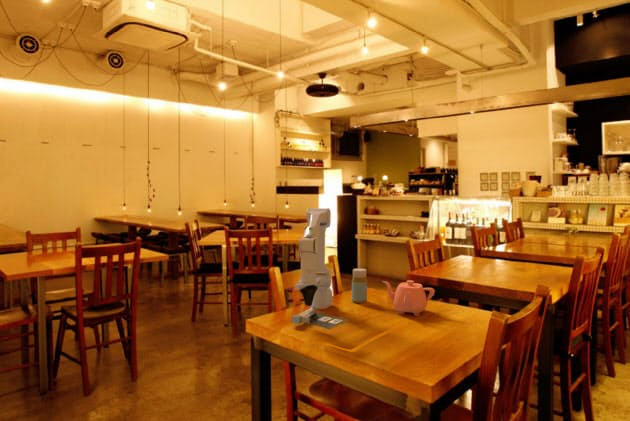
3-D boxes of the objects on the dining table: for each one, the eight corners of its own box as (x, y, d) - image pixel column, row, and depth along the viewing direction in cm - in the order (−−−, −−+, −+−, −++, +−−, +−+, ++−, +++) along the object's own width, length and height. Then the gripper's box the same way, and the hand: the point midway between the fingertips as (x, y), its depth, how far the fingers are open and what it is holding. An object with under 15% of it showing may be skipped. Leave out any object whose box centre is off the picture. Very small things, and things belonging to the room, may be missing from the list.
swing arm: (311, 313, 177) (311, 305, 176) (318, 314, 175) (318, 306, 175) (291, 325, 162) (291, 316, 162) (299, 326, 161) (299, 317, 161)
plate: (317, 314, 181) (317, 311, 181) (350, 321, 171) (350, 318, 171) (296, 322, 170) (296, 319, 170) (329, 331, 160) (329, 328, 160)
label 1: (325, 317, 174) (325, 316, 174) (332, 318, 172) (332, 318, 172) (317, 320, 170) (317, 319, 170) (324, 322, 168) (324, 321, 168)
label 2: (335, 319, 171) (335, 318, 171) (342, 321, 169) (342, 320, 169) (328, 322, 167) (328, 321, 167) (335, 324, 165) (335, 323, 165)
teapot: (407, 320, 173) (407, 286, 172) (381, 309, 188) (381, 278, 187) (437, 314, 181) (437, 282, 180) (410, 305, 196) (410, 275, 195)
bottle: (349, 302, 199) (349, 270, 198) (355, 299, 205) (355, 267, 204) (363, 304, 196) (363, 271, 195) (369, 301, 202) (369, 269, 201)
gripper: (311, 265, 171) (311, 299, 172) (287, 271, 160) (288, 308, 160) (326, 267, 167) (326, 302, 168) (303, 273, 155) (303, 311, 156)
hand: (308, 305), depth 164 cm, fingers closed
